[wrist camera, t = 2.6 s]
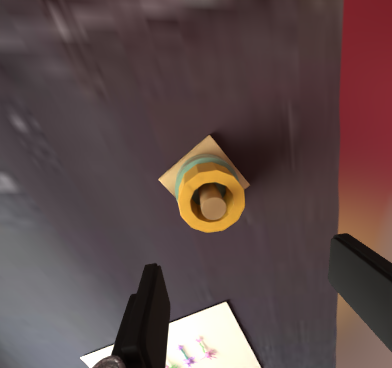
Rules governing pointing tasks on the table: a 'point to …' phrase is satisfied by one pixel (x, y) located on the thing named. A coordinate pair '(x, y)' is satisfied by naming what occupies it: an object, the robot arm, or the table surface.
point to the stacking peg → (208, 192)
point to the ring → (193, 211)
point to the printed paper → (201, 342)
